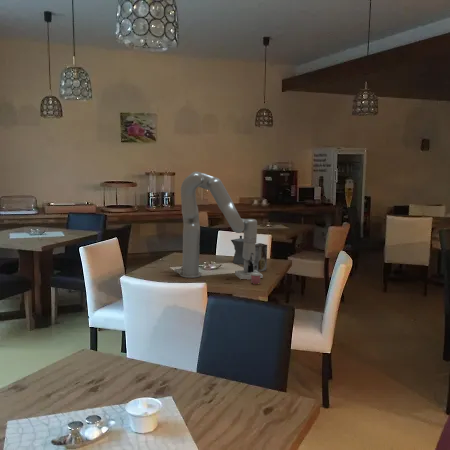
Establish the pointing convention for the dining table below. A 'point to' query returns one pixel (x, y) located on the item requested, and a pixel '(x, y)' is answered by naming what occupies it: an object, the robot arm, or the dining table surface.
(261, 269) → the coffee box
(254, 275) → the jam jar
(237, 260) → the coffeepot
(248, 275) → the tray
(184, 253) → the robot arm
